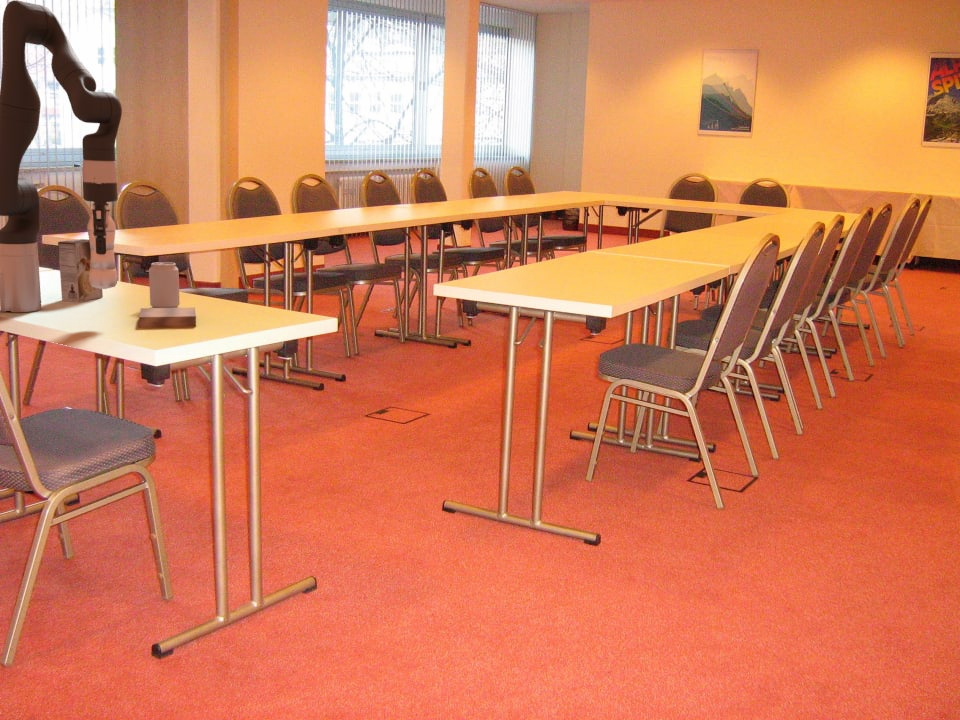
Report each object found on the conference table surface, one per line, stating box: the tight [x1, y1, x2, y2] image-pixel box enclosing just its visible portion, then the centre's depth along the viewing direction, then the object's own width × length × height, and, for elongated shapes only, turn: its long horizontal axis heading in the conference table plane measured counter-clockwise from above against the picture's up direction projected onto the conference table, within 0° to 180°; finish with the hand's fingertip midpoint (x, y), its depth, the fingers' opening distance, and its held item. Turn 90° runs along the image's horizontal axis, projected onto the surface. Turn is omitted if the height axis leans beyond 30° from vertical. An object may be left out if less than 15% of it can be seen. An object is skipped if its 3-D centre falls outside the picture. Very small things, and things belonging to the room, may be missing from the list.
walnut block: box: [138, 307, 197, 328], centre depth 245 cm, size 13×13×2 cm
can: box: [148, 261, 181, 308], centre depth 264 cm, size 8×8×12 cm
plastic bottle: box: [86, 202, 119, 290], centre depth 235 cm, size 6×7×20 cm
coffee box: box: [57, 238, 104, 303], centre depth 273 cm, size 9×6×16 cm
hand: (102, 252), depth 236 cm, fingers closed on plastic bottle, 6 cm apart
